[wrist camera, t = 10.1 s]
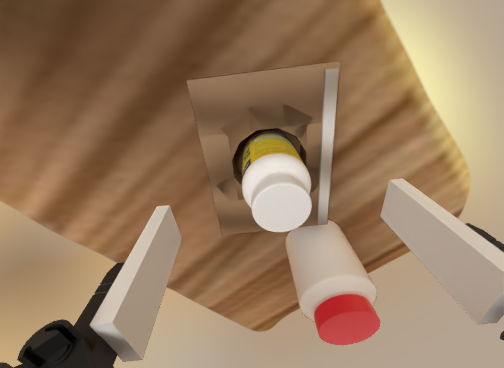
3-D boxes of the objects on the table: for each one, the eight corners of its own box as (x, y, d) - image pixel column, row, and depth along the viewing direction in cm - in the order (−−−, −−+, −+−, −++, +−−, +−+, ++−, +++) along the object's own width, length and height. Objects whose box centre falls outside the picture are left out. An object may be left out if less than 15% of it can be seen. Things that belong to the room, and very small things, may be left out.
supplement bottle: (239, 132, 21) (237, 176, 13) (293, 127, 21) (328, 168, 13) (244, 180, 24) (245, 243, 15) (293, 176, 24) (321, 237, 15)
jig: (192, 79, 19) (185, 80, 16) (329, 62, 19) (342, 61, 16) (223, 221, 27) (221, 237, 24) (320, 211, 26) (328, 226, 24)
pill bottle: (352, 243, 29) (406, 330, 20) (305, 269, 31) (332, 359, 22) (324, 207, 26) (371, 290, 17) (273, 239, 28) (289, 328, 19)
